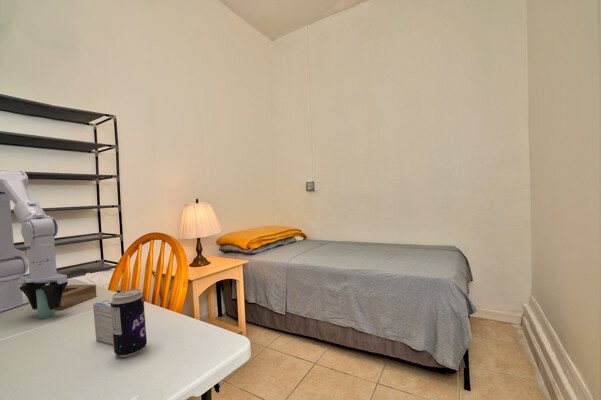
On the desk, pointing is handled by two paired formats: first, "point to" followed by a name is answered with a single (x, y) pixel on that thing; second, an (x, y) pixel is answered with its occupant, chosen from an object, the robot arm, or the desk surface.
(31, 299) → the robot arm
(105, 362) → the desk surface
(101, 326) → the medicine box
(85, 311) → the desk surface
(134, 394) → the desk surface
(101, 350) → the desk surface
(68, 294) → the walnut socket block
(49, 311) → the teal peg
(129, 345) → the beverage can
